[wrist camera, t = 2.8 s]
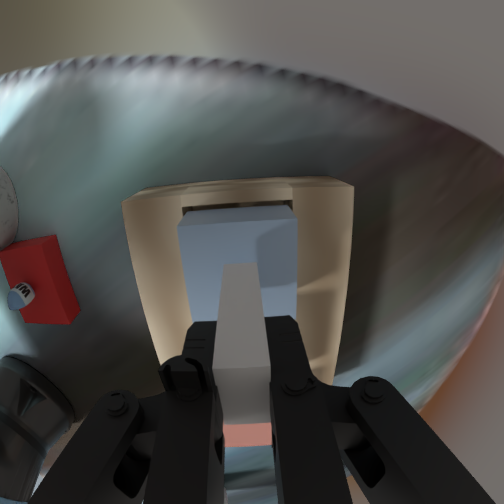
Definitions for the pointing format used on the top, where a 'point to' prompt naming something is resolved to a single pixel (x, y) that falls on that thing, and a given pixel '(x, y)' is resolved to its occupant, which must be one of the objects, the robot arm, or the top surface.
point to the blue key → (240, 255)
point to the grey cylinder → (7, 210)
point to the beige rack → (235, 196)
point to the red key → (247, 434)
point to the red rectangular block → (39, 281)
